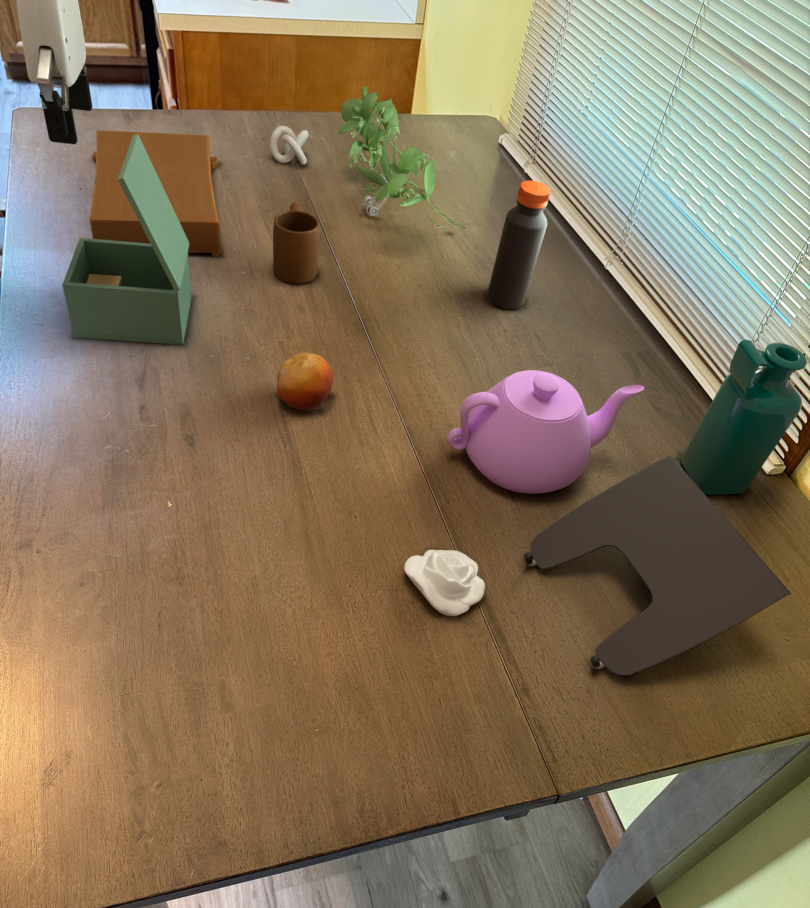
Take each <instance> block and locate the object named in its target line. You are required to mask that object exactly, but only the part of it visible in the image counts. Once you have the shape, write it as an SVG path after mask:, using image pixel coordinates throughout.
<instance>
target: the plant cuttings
mask: <svg viewBox="0 0 810 908" xmlns="http://www.w3.org/2000/svg"><path fill="white" fill-rule="evenodd" d="M367 93H368V85H364V86H363V87H362V89H361V99H360V98H358V97H354V98H350V99H347V100H345V101H343V103H341V106H340V107H341V108H340V115H341V118H342V120H343V121H344V123H343V124H342V125H340V127H339V128H338V132H337V134H338V135H342V134H343V135H344V134H345V133H347V132H350V137H351V138H355V137H357V136H358V135H359V136H361V137H362V139H363V141H362V140H359V139H357V140H355V141H354V142H353V143H352V144H351V145H350V148H349V158H348V163H349V169H352V167H353V165H354V166H355V167H356V168H357V169H358V170H359V172H360V173H361V174H362V175H363V176H364V177H365V178H366V179H367V180H369V181H370V182H369V183H367V184H365V186H366V187H365V188H364V196H365V197H363V198H364V199H363V204H364V206H366V210H368V209H369V212H368V211H366V213H367V215H368V217H373V216H374V217H375V216H377V215H378V213H379V210H380V209H381V208H382V206H383V205H384V204H385V203H386V202H387V201H388V199H389V198H393V199H398V198H399V199H401V200H403V199H404V200H403V201H402V202H401V203H400V207H408V206H411V207H413V208H414V209H415V210H416V211H417V212H419V213H421V214H422V215H423V216H424V217H426V219H429V221H431V222H432V223H434V224H435V225H437V226H438V227H439V228H441V229H443V230H444V231H445V232H448V233H449V231H448V230H447V229H446V228H444V227H443V226H442V225H440V224H438V223H437V222H436V221H434V220H433V219H432V218H430V217H429V216H428V215H426V214H424V213H423V212H421V211H420V210H419V209H417V208H416V207H414V206H413V205H415V204H418V203H420V202H422V201H424V200H425V201H426V203H429V204H430V205H431V206H432V207H433V208H434V209H435V210H436V211H437V212H438V213H439V214H440V215H441V216H442V218H444V219H446V220H447V221H448V222H451V223H452V224H453V225H455V226H457V227H459V228H462V229H465V230H466V229H467V227H466V226H465V227H464V226H462V225H460V224H458V223H456V222H455V221H454V220H452V219H451V218H449V217H448V216H447V215H445V214H444V213H443V212H442V211H441V210H439V208H437V207H436V206H435V204H434V203H432V201H430V199H431V196H432V195H433V192H434V190H435V186H436V179H437V171H436V170H437V169H436V165H435V163H434V161H433V160H434V159H433V158H430V160H429V161H428V162H427V158H428V157H431V156H432V154H430V155H428V154H427V152H425V151H424V152H420V149H419V148H418V146H416V145H414V146H413V145H412V146H411V147H409V148H406V149H405V150H404V151H403V152H402V151H401V149H399V148H398V147H397V146H396V145H395V141H396V140H397V138H398V135H400V134H401V133H400V129H399V127H400V126H399V116H398V111H397V108H396V107H395V105H394V104H393V102H392V100H393V98H389V99H388V100H383V101H378V98H379V95H378V93H377V92H374V91H371V92H370V93H369V94H368V95H367ZM375 115H378V116H375ZM379 117H380V118H379ZM372 118H373V119H375V120H376V123H377V125H376V124H375V123H374V122H373V121H372ZM378 125H379V126H378ZM382 125H383V128H384V129H382ZM352 130H353V131H352ZM356 132H357V133H356ZM395 134H398V135H395ZM387 142H388V143H390V144H391V145H392V156H391V157H392V158H391V163H390V161H389V155H388V147H387ZM379 144H380V145H379ZM395 149H396V150H395ZM365 151H367V152H366V154H367V156H369V159H368V160H367V159H366V158H365V156H364V155H363V152H365ZM396 151H397V152H396ZM369 153H370V154H369ZM396 153H397V154H398V156H399V159H398V160H399V161H398V164H397V157H396ZM358 156H359V157H358ZM351 157H352V158H351ZM360 158H361V161H362V162H367V163H368V167H369V168H366V167H361V166H358V164H357V163H359V161H358V160H360ZM379 162H380V165H378V164H379ZM426 162H427V163H426ZM425 163H426V164H425ZM378 168H380V170H381V171H379V172H377V171H376V169H378ZM420 171H421V172H422V171H423V173H422V175H423V176H422V178H423V179H422V180H423V181H422V182H423V188H424V189H423V190H424V193H422V192H421V191H420V190H421V188H420V187H419V186H418V185H417V184H416V183H415V182H413V181H412V180H410V179H409V176H410V174H409V173H410V172H411V173H412V174H414V175H415V176H416V178H418V177H419V174H420ZM371 183H373V184H371ZM406 183H408V184H409V185H411V186H412V187H413V188H414V189H415V190H416V191H417V192H418V193H416V192H415V191H414V189H413V188H411V187H407V184H406ZM376 187H378V190H377V188H376ZM403 187H404V188H405V189H404V188H403ZM408 192H410V193H411V196H410V195H409V193H408ZM369 193H371V195H374V196H373V197H372V196H371V195H370V194H369ZM405 198H406V199H405ZM379 200H382V201H380V203H379V204H378V203H377V202H378V201H379ZM373 203H375V205H376V206H374V205H373Z"/></svg>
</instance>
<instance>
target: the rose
mask: <svg viewBox="0 0 810 908" xmlns="http://www.w3.org/2000/svg"><path fill="white" fill-rule="evenodd" d="M403 570H404V573H405V574H406V575H407V576H408V578H409V580H410V581H411V582H412V584H414V586H415V587H416V588H417V589H418V590H419V592H420V593H421V594H422V595H423V597H424V598H425V599H426V601H427V602H428V603H429V604H430V605H431V607H432V608H434V609H435V610H436V611H437V612H438V613H440V614H442V615H444V616H448V617H458V616H460V615H463V614H464V613H466V612H468V611H469V609H470V607H472V606H473V605H475V604H477V603H479V602H480V601H481V600H482V599H483V597H484V594H485V589H486V583H485V581H484V580H483V579H482V578H481V577H479V576H478V572H479V565H478V563H477V562H476V561H475V560H473V559H471V558H470V557H469V556H468V555H467V554H465V553H463V552H461V551H459V550H453V549H448V550H447V549H438V550H437V549H428V550H426V551H425V552H424V553H423V555H417V554H415V555H412V556H410V557H408V558H407V560H406V561H405V563H404V567H403Z"/></svg>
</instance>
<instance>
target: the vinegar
mask: <svg viewBox="0 0 810 908" xmlns="http://www.w3.org/2000/svg"><path fill="white" fill-rule="evenodd" d="M550 195H551V189H550V187H549V186H548V185H546V184H544V182H540V181H537V180H524V181H522V182H520V183H519V188H518V191H517V195H516V200H515V201H516V205H515V206H514V207H512V208H511V209H509V210H508V212H507V213H506V215H505V219H504V223H503V226H502V232H501V235H500V240H499V244H498V247H497V252H496V256H495V259H494V263H493V268H492V272H491V276H490V280H489V284H488V289H487V293H486V294H487V299H488V300H489V302H491V304H493V305H495V306H496V307H499V308H501V309H505V310H515V309H519V308H521V307H522V306H523V305H524V304H525V302H526V299H527V294H528V293H529V292H528V291H529V288H530V285H531V281H532V279H533V274H534V271H535V268H536V264H537V261H538V259H539V258H538V257H539V254H540V251H541V247H542V244H543V241H544V237H545V233H546V231H547V227H548V219H547V217H546V215H545V213H544V210H545V209H546V208H547V205H548V203H549V198H550Z"/></svg>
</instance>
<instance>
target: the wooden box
mask: <svg viewBox="0 0 810 908" xmlns="http://www.w3.org/2000/svg"><path fill="white" fill-rule="evenodd" d="M95 133H96V137H95V138H96V139H95V140H96V151H95V152H93V154H92V158H93V159H92V160H93V161H94V162H95V163H96V164H95V178H94V184H93V193H92V201H91V207H90V214H89V224H90V231H91V235H92V239H100V240H112V241H124V242H136V243H147V244H151V243H150V241H149V240H148V238H147V236H146V234H145V232H144V230H143V228H142V226H141V224H140V222H139V220H138V218H137V216H136V214H135V212H134V210H133V208H132V206H131V205H130V203H129V201H128V199H127V197H126V195H125V193H124V191H123V189H122V187H121V185H120V183H119V181H118V177H119V174H120V171H121V168H122V165H123V162H124V159H125V157H126V154H127V151H128V148H129V145H130V142H131V139H132V137H133V135H137V134H138V135H139V137H140V139H141V141H142V143H143V146H144V148H145V150H146V152H147V154H148V156H149V158H150V160H151V163H152V165H153V167H154V169H155V171H156V173H157V175H158V177H159V180H160V182H161V184H162V186H163V188H164V190H165V192H166V194H167V197H168V199H169V201H170V203H171V205H172V207H173V209H174V211H175V214H176V216H177V218H178V220H179V222H180V224H181V226H182V228H183V231H184V233H185V235H186V237H187V239H188V241H189V248H188V253H211V256H212V257H219V256H220V254H221V251H222V250H221V231H220V222H219V215H218V209H217V206H216V205H217V204H216V200H215V194H214V188H213V187H214V186H213V181H212V170H213V169H215V168H217V167H218V166H219V163H220V162H219V157H217V156H211V146H210V144H211V143H210V136H209V135H208V134H189V133H188V134H187V133H169V132H168V133H165V132H147V131H146V132H143V131H126V130H125V131H123V130H103V129H102V130H101V129H100V130H99V129H98V130H96V132H95Z"/></svg>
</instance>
